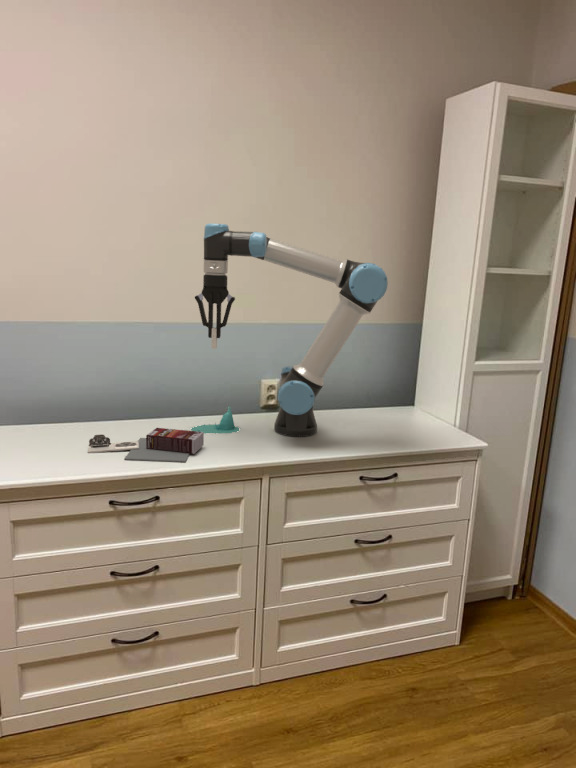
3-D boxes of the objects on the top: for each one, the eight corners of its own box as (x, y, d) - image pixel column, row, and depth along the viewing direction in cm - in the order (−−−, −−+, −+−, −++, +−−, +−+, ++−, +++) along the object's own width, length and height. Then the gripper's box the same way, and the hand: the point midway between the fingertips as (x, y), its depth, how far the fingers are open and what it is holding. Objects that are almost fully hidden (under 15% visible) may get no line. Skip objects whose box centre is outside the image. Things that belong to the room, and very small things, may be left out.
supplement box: (194, 439, 183) (145, 434, 186) (194, 454, 184) (145, 449, 187) (203, 430, 191) (156, 426, 194) (204, 445, 192) (156, 441, 195)
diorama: (186, 425, 217) (186, 401, 215) (242, 424, 220) (242, 402, 218) (186, 435, 205) (186, 410, 203) (245, 434, 208) (246, 410, 207)
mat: (195, 441, 198) (195, 440, 198) (185, 462, 178) (185, 461, 178) (140, 439, 198) (140, 437, 197) (124, 460, 178) (124, 458, 178)
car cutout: (87, 453, 183) (86, 438, 182) (89, 446, 189) (88, 432, 188) (138, 449, 186) (138, 435, 185) (138, 442, 193) (137, 428, 192)
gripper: (193, 273, 187) (192, 349, 192) (235, 275, 187) (233, 350, 193) (196, 272, 195) (195, 345, 200) (237, 274, 195) (235, 347, 200)
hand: (214, 347), depth 196 cm, fingers closed
